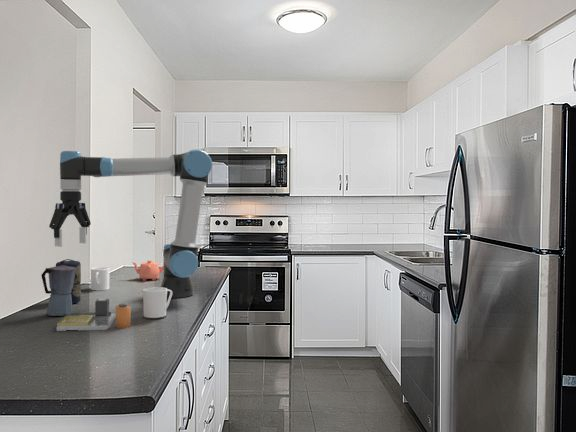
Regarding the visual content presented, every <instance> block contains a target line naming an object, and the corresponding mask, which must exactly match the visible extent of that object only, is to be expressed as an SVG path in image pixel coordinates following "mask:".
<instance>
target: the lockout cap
mask: <svg viewBox="0 0 576 432" xmlns="http://www.w3.org/2000/svg"><path fill="white" fill-rule="evenodd" d="M131 309H132V307H131V305H130V304H128V303H120V304H118V305H116V306H115V313H116V318H115V328H116V327H117V329H128V328H130V327H131V326H132V325H131V313H132V312H131ZM127 327H128V328H127Z"/></svg>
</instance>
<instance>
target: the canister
mask: <svg viewBox="0 0 576 432" xmlns="http://www.w3.org/2000/svg"><path fill="white" fill-rule="evenodd" d="M62 261H65V263H64V265H65V266H70V267H75V268H76V272H75V278H74V284H73V288H72V290H71V298H72V304H76V303H78V302H80V301H81V299H82V298H81V297H82V296H81V295H82V293H81V291H82V287H81V286H82V285H81V281H82V272H81V271H82V270H81V269H82V267H81V265H82V264H81V262H80V261H79V260H74V259H71V258H69V259H67V258H66V259H63V260H62ZM60 265H61V262H60V261H58V262H56V263H55V266H60Z"/></svg>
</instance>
